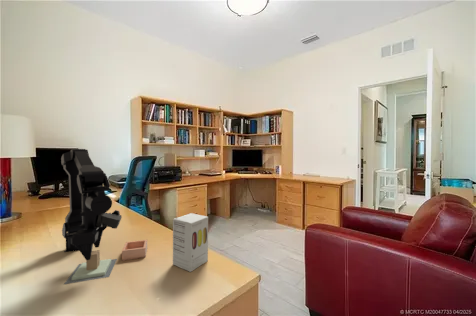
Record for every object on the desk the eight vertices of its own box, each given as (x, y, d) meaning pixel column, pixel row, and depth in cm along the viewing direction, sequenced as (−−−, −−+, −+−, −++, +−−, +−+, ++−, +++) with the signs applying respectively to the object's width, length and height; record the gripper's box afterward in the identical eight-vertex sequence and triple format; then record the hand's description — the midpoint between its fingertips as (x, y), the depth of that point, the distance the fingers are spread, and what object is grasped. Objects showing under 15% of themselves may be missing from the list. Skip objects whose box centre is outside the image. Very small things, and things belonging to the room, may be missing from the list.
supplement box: (190, 272, 71) (190, 223, 71) (171, 264, 76) (171, 218, 76) (208, 260, 80) (208, 216, 79) (190, 254, 84) (190, 212, 84)
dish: (122, 261, 78) (121, 251, 78) (125, 251, 86) (125, 242, 86) (145, 258, 81) (145, 247, 81) (147, 249, 88) (147, 239, 88)
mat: (63, 285, 64) (63, 284, 64) (79, 265, 76) (79, 264, 76) (109, 278, 68) (109, 276, 68) (117, 259, 79) (117, 258, 79)
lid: (71, 280, 66) (71, 261, 66) (82, 265, 75) (82, 248, 74) (104, 275, 69) (104, 257, 69) (111, 261, 78) (111, 245, 77)
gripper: (113, 213, 65) (113, 263, 65) (124, 199, 83) (124, 239, 83) (69, 216, 61) (70, 269, 62) (90, 201, 79) (91, 242, 80)
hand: (93, 253), depth 72 cm, fingers open, 9 cm apart
